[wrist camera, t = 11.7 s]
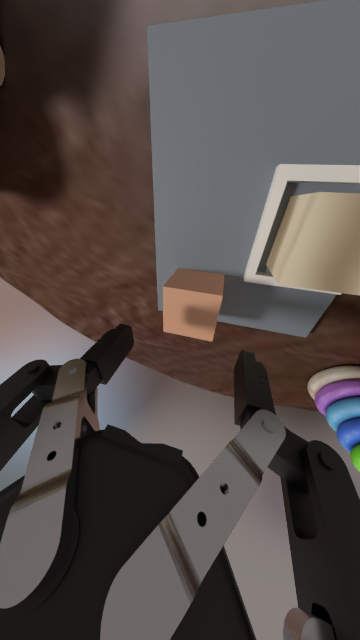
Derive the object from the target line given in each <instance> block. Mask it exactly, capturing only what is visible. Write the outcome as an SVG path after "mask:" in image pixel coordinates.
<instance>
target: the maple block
mask: <svg viewBox="0 0 360 640" xmlns="http://www.w3.org/2000/svg"><path fill="white" fill-rule="evenodd" d="M266 265H267V267H268V268H269V270H270V272H271V273H272V275H273V277H274V278H275V280H276V281H277V283H278V285H285V286H293V287H300V288H308V289H315V290H323V291H330V292H338V293H345V294H353V295H360V193H335V192H316V193H310V194H303V195H297V196H291V197H290V198H289V201H288V203H287V206H286V209H285V212H284V214H283V217H282V220H281V223H280V226H279V228H278V231H277V234H276V237H275V239H274V242H273V245H272V248H271V250H270V253H269V256H268V259H267V261H266Z"/></svg>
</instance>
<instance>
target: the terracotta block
mask: <svg viewBox="0 0 360 640" xmlns="http://www.w3.org/2000/svg"><path fill="white" fill-rule="evenodd" d="M224 275H225V274H218V273H211V272H203V271H196V270H189V269H181V268H178V269H177V270H176V271H175V272H174V274H173V275H172V276H171V277H170V278H169V280H168V281H167V282H166V283H165V284H164V286H163V329H164V332H169V333H173V334H178V335H183V336H188V337H192V338H197V339H202V340H207V341H212V340H213V336H214V332H215V327H216V323H217V319H218V315H219V310H220V306H221V302H222V298H223V288H224Z"/></svg>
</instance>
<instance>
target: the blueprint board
mask: <svg viewBox="0 0 360 640" xmlns="http://www.w3.org/2000/svg"><path fill="white" fill-rule="evenodd" d="M147 39H148V65H149V90H150V115H151V140H152V165H153V191H154V216H155V241H156V266H157V291H158V310H160V311H163V286H164V284H165V283H166V282H167V281H168V280H169V278H170V277H171V276H172V275H173V274H174V272H175V271H176V270H177V269H178V268H181V269H189V270H196V271H203V272H211V273H218V274H225V275H224V288H223V298H222V302H221V306H220V310H219V315H218V319H217V321H219V322H225V323H230V324H235V325H241V326H246V327H251V328H257V329H262V330H268V331H273V332H278V333H284V334H289V335H295V336H300V337H305V338H306V337H307V336H308V334H309V333H310V331H311V330H312V328H313V327H314V326H315V324H316V323H317V321H318V320H319V319H320V317H321V316H322V314H323V313H324V312H325V310H326V309H327V307H328V306H329V305H330V303H331V302H332V300H333V299H334V298H335V296H336V295H341V293H338V292H330V291H323V290H315V289H308V288H300V287H293V286H285V285H278V283H277V281H276V280H275V278H274V277H273V275H272V273H271V272H270V270H269V268H268V267H267V265H266V261H267V259H268V256H269V253H270V250H271V248H272V245H273V242H274V239H275V237H276V234H277V231H278V228H279V226H280V223H281V220H282V217H283V214H284V212H285V209H286V206H287V203H288V201H289V198H290V197H291V196H297V195H303V194H310V193H316V192H335V193H360V0H324V1H317V2H310V3H303V4H296V5H289V6H282V7H275V8H268V9H261V10H254V11H247V12H240V13H233V14H226V15H219V16H212V17H205V18H198V19H191V20H184V21H177V22H170V23H163V24H156V25H149V26H147Z"/></svg>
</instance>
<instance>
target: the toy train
mask: <svg viewBox="0 0 360 640" xmlns="http://www.w3.org/2000/svg"><path fill="white" fill-rule="evenodd" d="M4 77H5V60H4V55H3V52H2V49H1V46H0V86H1V85H2V83H3V80H4Z"/></svg>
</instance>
